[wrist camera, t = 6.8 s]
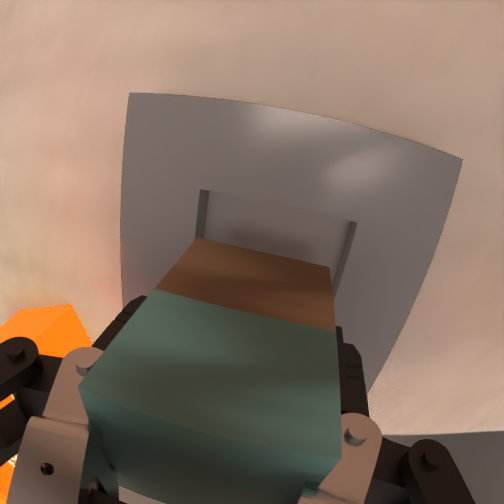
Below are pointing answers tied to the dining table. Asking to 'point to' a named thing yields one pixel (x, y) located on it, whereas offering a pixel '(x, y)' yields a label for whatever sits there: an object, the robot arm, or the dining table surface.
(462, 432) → the dining table surface
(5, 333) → the orange juice
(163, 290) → the block stack
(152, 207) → the socket plate
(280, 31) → the dining table surface
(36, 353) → the robot arm
